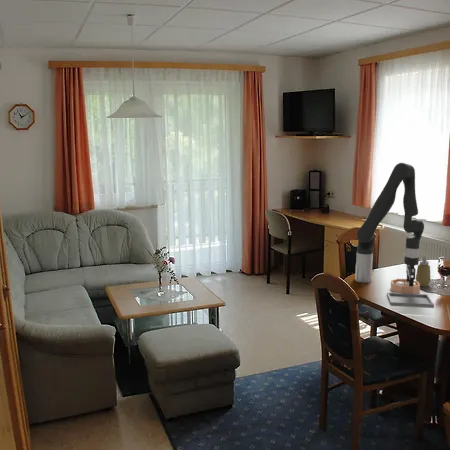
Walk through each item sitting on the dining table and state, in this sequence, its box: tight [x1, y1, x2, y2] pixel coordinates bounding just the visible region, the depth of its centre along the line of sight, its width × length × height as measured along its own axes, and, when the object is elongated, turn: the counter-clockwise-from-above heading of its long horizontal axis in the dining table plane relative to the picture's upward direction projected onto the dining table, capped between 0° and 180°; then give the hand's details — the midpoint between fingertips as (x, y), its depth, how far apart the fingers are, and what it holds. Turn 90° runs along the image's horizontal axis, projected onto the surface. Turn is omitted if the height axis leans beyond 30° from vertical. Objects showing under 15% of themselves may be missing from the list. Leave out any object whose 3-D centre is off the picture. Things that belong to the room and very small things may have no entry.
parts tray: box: [386, 291, 435, 308], centre depth 267 cm, size 21×16×2 cm
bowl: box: [390, 278, 421, 294], centre depth 284 cm, size 15×15×5 cm
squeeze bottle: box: [415, 254, 431, 287], centre depth 293 cm, size 8×8×18 cm
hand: (409, 283), depth 283 cm, fingers open, 8 cm apart
